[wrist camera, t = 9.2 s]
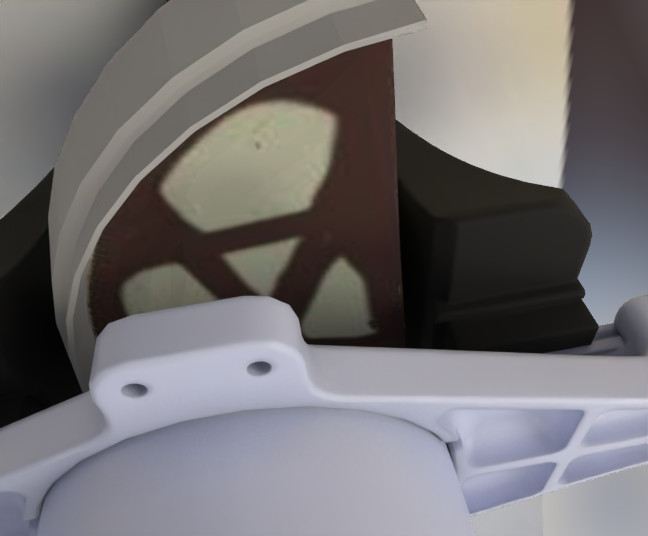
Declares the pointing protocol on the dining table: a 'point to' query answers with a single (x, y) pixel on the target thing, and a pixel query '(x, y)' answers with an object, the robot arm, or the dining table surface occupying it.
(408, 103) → the dining table surface
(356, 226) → the food container
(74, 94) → the dining table surface
